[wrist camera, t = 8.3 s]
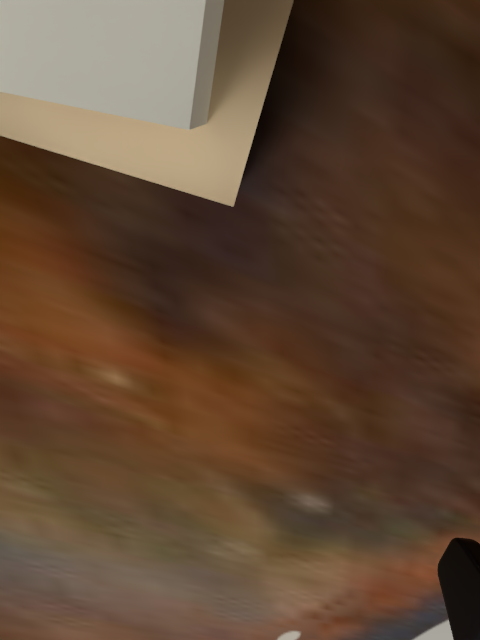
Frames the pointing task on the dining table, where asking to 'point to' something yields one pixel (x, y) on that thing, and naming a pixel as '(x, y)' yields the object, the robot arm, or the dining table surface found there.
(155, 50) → the off-white plain cube
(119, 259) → the dining table surface
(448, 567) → the robot arm
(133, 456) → the dining table surface
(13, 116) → the oak block
